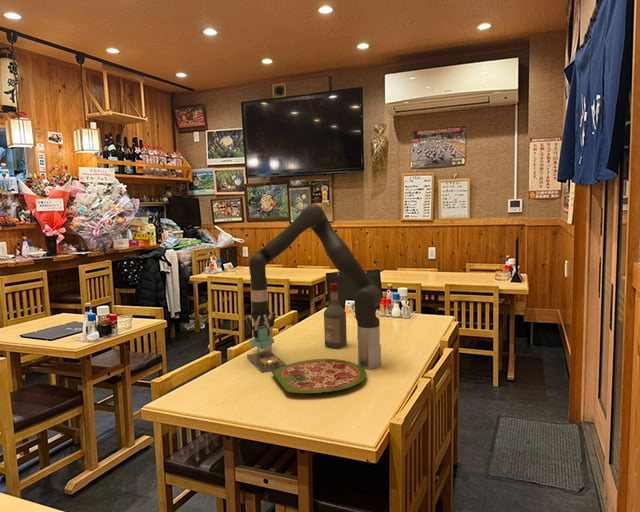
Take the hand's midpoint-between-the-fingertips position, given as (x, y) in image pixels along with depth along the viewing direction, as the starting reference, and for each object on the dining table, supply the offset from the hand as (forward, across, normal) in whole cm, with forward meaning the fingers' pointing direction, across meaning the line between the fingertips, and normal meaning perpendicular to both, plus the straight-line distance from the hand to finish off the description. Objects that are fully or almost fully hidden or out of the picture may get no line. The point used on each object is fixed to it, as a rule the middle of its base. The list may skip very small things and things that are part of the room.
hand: (261, 337), depth 209 cm
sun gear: (+9, 0, -10) cm, 13 cm away
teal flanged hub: (+3, 0, 0) cm, 3 cm away
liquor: (+10, +37, +1) cm, 38 cm away
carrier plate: (+10, 0, -5) cm, 11 cm away
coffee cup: (+10, +5, +12) cm, 17 cm away
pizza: (+11, +13, -34) cm, 38 cm away
